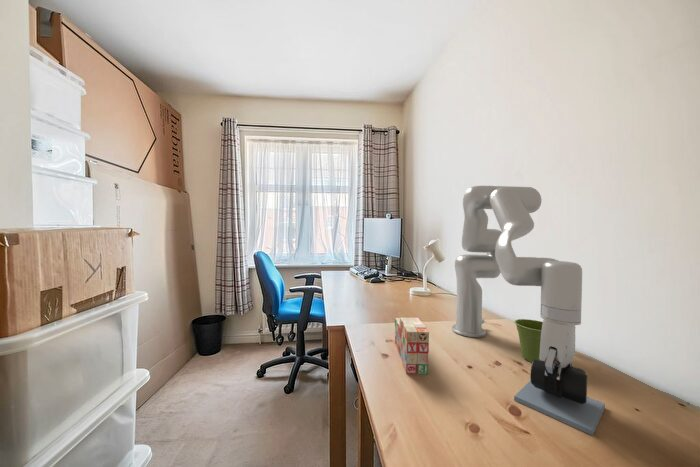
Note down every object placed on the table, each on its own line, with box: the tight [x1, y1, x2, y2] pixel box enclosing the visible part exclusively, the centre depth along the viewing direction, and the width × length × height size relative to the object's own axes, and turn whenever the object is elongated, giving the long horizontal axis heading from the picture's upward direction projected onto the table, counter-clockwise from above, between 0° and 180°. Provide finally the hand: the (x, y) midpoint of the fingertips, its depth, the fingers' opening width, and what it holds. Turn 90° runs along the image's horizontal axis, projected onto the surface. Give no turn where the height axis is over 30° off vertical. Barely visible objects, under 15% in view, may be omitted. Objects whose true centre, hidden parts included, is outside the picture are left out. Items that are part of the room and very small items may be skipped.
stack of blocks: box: [394, 317, 430, 375], centre depth 85 cm, size 21×6×12 cm, turn 179°
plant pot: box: [513, 318, 543, 363], centre depth 84 cm, size 12×12×11 cm
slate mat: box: [513, 380, 606, 437], centre depth 62 cm, size 14×14×1 cm
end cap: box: [529, 359, 588, 404], centre depth 62 cm, size 10×7×7 cm
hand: (558, 387), depth 62 cm, fingers closed on end cap, 7 cm apart
